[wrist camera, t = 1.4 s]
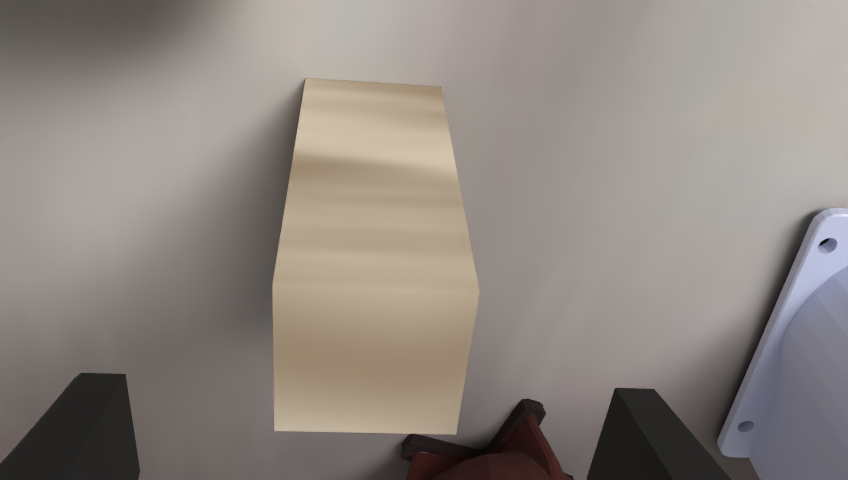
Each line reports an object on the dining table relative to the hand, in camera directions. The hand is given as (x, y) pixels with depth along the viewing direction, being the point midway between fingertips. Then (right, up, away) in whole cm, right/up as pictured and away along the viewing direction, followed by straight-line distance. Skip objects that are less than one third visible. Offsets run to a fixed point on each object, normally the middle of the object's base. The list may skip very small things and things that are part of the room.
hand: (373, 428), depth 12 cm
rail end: (-1, +5, +8) cm, 9 cm away
